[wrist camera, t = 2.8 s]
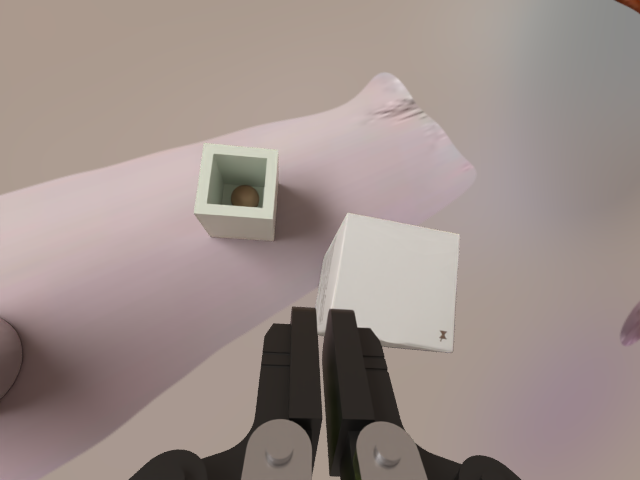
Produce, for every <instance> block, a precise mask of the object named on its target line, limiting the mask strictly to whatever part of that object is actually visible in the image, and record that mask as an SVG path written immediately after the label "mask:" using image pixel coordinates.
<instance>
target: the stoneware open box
mask: <svg viewBox="0 0 640 480" xmlns="http://www.w3.org/2000/svg"><path fill="white" fill-rule="evenodd" d="M278 184H279V164H278V150H274V149H263V148H253V147H242V146H231V145H220V144H210V143H204V145H203V152H202V159H201V166H200V173H199V180H198V187H197V194H196V201H195V208H194V214H195V216H196V217H197V219H198V220H199V222H200V223H201V224H202V226H203V227H204V229H205V230H206V232H207V233H208V234H209V236H210V237H221V238H235V239H250V240H264V241H274V235H275V222H276V209H277V197H278ZM241 185H249V186H251V187H253V188H254V189H255V190H256V191H257V192H258V195H259V204H258V206H257V207H244V206H233V205H232V203H231V194H232V192H233V190H234V189H235V188H237V187H238V186H241Z"/></svg>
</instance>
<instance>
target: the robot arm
mask: <svg viewBox="0 0 640 480" xmlns="http://www.w3.org/2000/svg"><path fill="white" fill-rule="evenodd" d="M21 363H22V346H21V341H20V339H19V336H18V334H17V332H16V331H15V330H14V329H13V327H12V326H11V325H10V324H8V323H7V322H6V321H4V320H3V319H1V318H0V398H1V397H2V396H3V395H5V394H6V393H7V391H8V390H9V389H10V387H11V386H12V384H13V383H14V381H15V379H16V377H17V375H18V373H19V371H20V367H21ZM322 365H323V381H324V396H325V412H326V428H327V442H328V458H329V474H330V476H340V478H341V480H521V479H520V478H519V477H518V476H517V475H516V474H514V473H513V472H512V471H511V470H510V469H509V468H507V467H506V466H505V465H503V464H502V463H500V462H499V461H497V460H495V459H493V458H490V457H487V456H481V455H479V456H478V455H476V456H471V457H469V458H468V459H466V460H465V461H464V462H463V464H459V463H456V462H454V461H451V460H448V459H445V458H442V457H439V456H436V455H434V454H432V453H429V452H427V451H426V450H424V449H422V448H421V447H419V446H418V445H417V444H416V443H415V442H414V441H413V439H412V438H411V437H410V435H409V434H408V433H407V432H406V431H405V429H404V428H403V425H402V423H401V420H400V416H399V412H398V408H397V404H396V400H395V396H394V392H393V389H392V385H391V381H390V377H389V373H388V372H387V365H386V361H385V359H384V353H383V349H382V346H381V342H380V340H379V339H378V337H377V336H376V335H375V334H374V332H373V331H372V330H371V328H359V327H357V322H356V317H355V312H354V310H347V309H329V312H328V317H327V324H326V330H325V336H324V343H323V354H322ZM320 387H321V386H320V368H319V350H318V332H317V314H316V308H306V307H292V311H291V323H290V324H273V325H272V326H271V328H270V329H269V331H268V332H267V333H266V335H265V338H264V345H263V355H262V362H261V371H260V379H259V388H258V397H257V405H256V413H255V420H254V423H253V426H252V428H251V430H250V432H249V433H248V434H247V436H246V437H245V438H244V439H243V440H242V441H241V442H240V443H239V444H237V445H236V446H235V447H233V448H231V449H229V450H227V451H224V452H221V453H218V454H215V455H212V456H209V457H206V458H203V459H200V458H199V457H198V456H197V455H196V454H194V453H192V452H190V451H187V450H171V451H167V452H164V453H162V454H160V455H158V456H156V457H155V458H153V459H151V460H150V461H149V462H148V463H146V464H145V465H144V466H143V467H142V468H141V469H140V470H139V471H138V472H137V473H135V474H134V476H132V477H131V478H130V479H129V480H312V472H313V467H314V461H315V456H316V451H317V445H318V440H319V434H320V428H321V423H322V404H321V388H320Z"/></svg>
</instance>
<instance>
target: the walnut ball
mask: <svg viewBox="0 0 640 480" xmlns="http://www.w3.org/2000/svg"><path fill="white" fill-rule="evenodd" d="M231 203H232V205H233V206H244V207H257V206H258V204H259V195H258V192H257V191H256V190H255V189H254V188H253V187H251V186H249V185H241V186H238V187H237V188H235V189H234V190H233V192H232V194H231Z"/></svg>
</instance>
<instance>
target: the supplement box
mask: <svg viewBox="0 0 640 480" xmlns="http://www.w3.org/2000/svg"><path fill="white" fill-rule="evenodd" d="M459 243H460V235H459V234H455V233H451V232H445V231H440V230H435V229H429V228H425V227H420V226H415V225H409V224H404V223H399V222H394V221H389V220H384V219H379V218H374V217H368V216H363V215H358V214H352V213H347V215H346V217H345V219H344V220H343V222H342V224H341V226H340V228H339V230H338V232H337V234H336V235H335V237H334V239H333V241H332V243H331V245H330V247H329V248H328V250H327V252H326V254H325V256H324V258H323V264H322V270H321V276H320V282H319V288H318V295H317V301H316V307H315V308H316V314H317V332H318V335H321V336H325V330H326V324H327V317H328V312H329V309H347V310H354V312H355V317H356V322H357V327H359V328H371V330H372V331H373V332H374V334H375V335H376V336H377V337H378V339H379V340H380V342H381V346H384V347H392V348H401V349H402V348H403V349H412V350H423V351H433V352H445V353H452V352H453V345H454V327H455V308H456V289H457V273H458V260H459Z"/></svg>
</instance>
